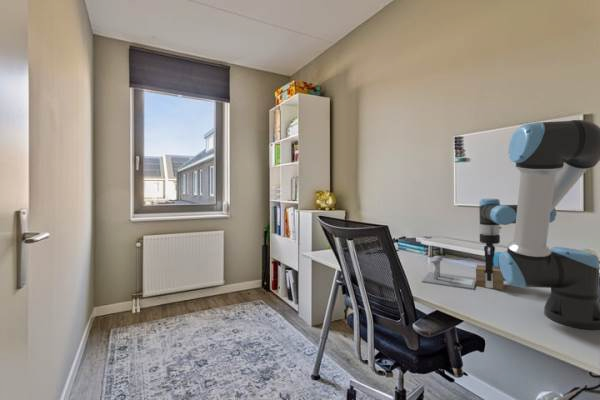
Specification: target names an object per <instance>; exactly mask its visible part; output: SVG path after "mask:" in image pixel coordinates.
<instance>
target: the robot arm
mask: <svg viewBox="0 0 600 400" xmlns="http://www.w3.org/2000/svg"><path fill="white" fill-rule="evenodd" d="M508 154H509V159H510V161H511V162H513V163H515V168H516V169H517V170H518V171H519V172H520V177H519V178H520V179H519V187H518V197H517V204H501V203H500V199H498V198H482V199H479V206H478V208H479V209H478V210H479V224H478V225H479V242H480V243H482V244H485V245H484V246H483V247H484V248H483V250H484V257H485V265H486V270H485V271H484V273H485V276H486V287H487V288H488V289H494V288H493V271H492V270H493V265H494V264H493V258H494V253H495V252H496V246H494V245H498V244H500V242H501V237H500V232H501V229H502V225H503V226H507V225H508V226H509V225H510V224H515V225H514V233H513V234H514V237H513V241H512V242H510V243H508V244H507V250H506V251H504V250H503V251H500V252H501V253H500V255H499V265H500V270H501V272H502V275H503V277H504V279H503V280H505V282H506V283H507V284H508V285H510V286H512V287H517V288H518V287H520V288H541V289H542V288H548V289H549V288H550V294H549V295H548V297H547V299H546V303H545V305H544V307H543V308H544V309H543V310H544V311H543V313H544V316H545V317H547V318H548V319H550V320H551V321H553V322H556V323H558V324H561V325H565V326H568V327H572V328H575V329H576V328H577V329H582V330H583V329H584V330H600V299H599V292H600V290H599V289H600V288H599V287H600V284H599V283H600V280H599V279H600V261H599V257H598V256H597V255H596V254H594V253H592V252H589V251H585V250H580V249H575V248H569V247H563V246H552V247H551V248H549V246H547V242H548V235H549V227H550V223H553V222H554V221H555V220H556V217H557V210H556V207H557V206H558V205H559V204H560V202H561V201H562V200H563V199H564V197H565V196H566V195H567V194H568V193H569V191H570V190H571V189H572V188H573V187H574V186H575V184H576V183H577V182H578V181H579V179H580V178H581V177H582V176H583V175H584V174H585V172H586V171H587V170H589V169H592V168H594V167H595V166H597V164H598V163H599V162H600V126H599V125H597V124H595V123H594V122H591V121H589V120H585V119H573V120H561V121H560V120H559V121H542V122H540V121H539V122H532V123H525V124H523V125H520V126H519V127H518V128H517V129H516V130H515V131H514V133H513V135H512V136H511V138H510V141H509V146H508ZM486 287H485V288H486Z"/></svg>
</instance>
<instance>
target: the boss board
mask: <svg viewBox="0 0 600 400" xmlns="http://www.w3.org/2000/svg"><path fill="white" fill-rule="evenodd" d="M441 261H443V256H439V255H434V256H433V258H431V259H430V262H431V263H432V264H433V271H429V272H428V273H427V274H426V275H425V276H424V278H423V279H422V281H421V282H422V283H426V284H432V285H439V286H447V287H452V288H460V289H467V290H468V289H469V290H474V289H475V287H476V277H471V276H463V275H457V274H456V275H455V274H449V273H448V274H447V273H441Z"/></svg>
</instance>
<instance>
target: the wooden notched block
mask: <svg viewBox="0 0 600 400" xmlns="http://www.w3.org/2000/svg"><path fill="white" fill-rule="evenodd" d="M485 270H486V264H485V265H483V264H477V265H476V267H475V278H476V284H475V287H480V288H487V287H486V276H485V273H484V271H485ZM492 271H493V288H492V289H494V290H501V291H504V279H503V275H502V272H501V270H500V267H495V266H493V270H492Z"/></svg>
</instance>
